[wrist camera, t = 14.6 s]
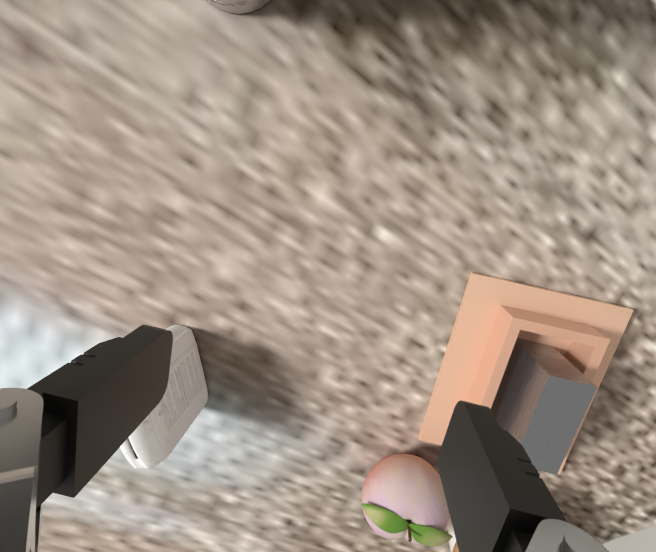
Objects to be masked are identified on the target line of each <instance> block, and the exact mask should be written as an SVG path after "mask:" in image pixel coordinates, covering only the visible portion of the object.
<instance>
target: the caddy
mask: <svg viewBox="0 0 656 552" xmlns="http://www.w3.org/2000/svg"><path fill="white" fill-rule="evenodd" d="M633 311H634V310H633V309H631V308H629V307H625V306H620V305H616V304H612V303H607V302H603V301H598V300H594V299H589V298H585V297H581V296H576V295H572V294H567V293H563V292H558V291H554V290H550V289H545V288H541V287H536V286H532V285H527V284H523V283H519V282H514V281H510V280H505V279H501V278H497V277H492V276H488V275H483V274H479V273H474V272H471V274H470V277H469V280H468V283H467V287H466V290H465V293H464V296H463V299H462V302H461V305H460V308H459V311H458V314H457V318H456V321H455V324H454V327H453V330H452V333H451V336H450V339H449V342H448V346H447V349H446V352H445V355H444V358H443V361H442V364H441V367H440V370H439V374H438V377H437V380H436V383H435V386H434V389H433V392H432V395H431V398H430V402H429V405H428V408H427V411H426V414H425V417H424V420H423V423H422V426H421V430H420V433H419V440H420V441H424V442H428V443H432V444H436V445H440V446H442V443H443V440H444V437H445V434H446V431H447V428H448V425H449V422H450V419H451V416H452V414H453V411H454V408H455V406H456V404H457V402H458V401H460V400H462V401H466V402H470V403H474V404H478V405H483V406H487V407H489V408H490V409H491V407H492V404H493V401H494V399H495V396H496V393H497V391H498V388H499V385H500V383H501V380H502V377H503V374H504V372H505V369H506V366H507V364H508V361H509V358H510V356H511V353H512V350H513V348H514V345H515V342H516V339H517V338H521V339H525V340H529V341H533V342H537V343H541V344H546V345H550V346H553V347H554V348H555V349H556V350H557V351H558V352H559V353H560V354H562V355H563V356H564V357H565V358H566V359H567V360H568V361H569V362H570V363H571V364H573V365H574V366H575V367H576V368H577V369H578V370H579V371H580V372H581V373H582V374H584V375H585V376H586V377H587V378H588V379H589V380H590V381H591V382H592V383H593V384H595V385H596V386H597V389H596V391H595V393H594V395H593V397H592V400H591V402H590V404H589V406H588V408H587V410H586V413H585V415H584V417H583V419H582V421H581V423H580V426H579V428H578V430H577V432H576V434H575V437H574V439H573V441H572V443H571V445H570V447H569V450H568V452H567V454H566V456H565V458H564V460H563V463H562V465H561V467H560V469H559V471H558V473H557V474H560V473H561V471H562V469H563V466H564V464H565V462H566V460H567V457H568V455H569V453H570V451H571V449H572V446H573V444H574V442H575V440H576V437H577V435H578V433H579V431H580V429H581V426H582V424H583V422H584V420H585V417H586V415H587V413H588V411H589V409H590V406H591V404H592V402H593V400H594V397H595V395H596V393H597V391H598V389H599V386H600V384H601V382H602V380H603V377H604V375H605V373H606V371H607V369H608V366H609V364H610V362H611V360H612V357H613V355H614V353H615V351H616V349H617V346H618V344H619V342H620V340H621V337H622V335H623V333H624V331H625V329H626V326H627V324H628V322H629V320H630V317H631V315H632V313H633Z"/></svg>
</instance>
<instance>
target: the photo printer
mask: <svg viewBox="0 0 656 552" xmlns="http://www.w3.org/2000/svg"><path fill="white" fill-rule="evenodd" d="M166 330H169V331H171V332H172V334H173V344H172V353H171V362H170V371H169V379H168V385H167V388H166V391H165V394H164V396H163V398H162V399H161V401H160V403H159V404H158V405H157V406H156V407H155V408H154V409H153V411H152V412H151V413H150V414H149V415H148V416H147V417H146V418H145V419H144V421H143V422H142V423H141V424H140V425H139V426H138V427H137V428H136V429H135V431H134V432H133V433H132V434H131V435H130V436H129V437H128V438H127V439H126V441H125V442H124V443H123V444H122V445H121V446H120V449H121V450H122V452H123V454H124V455H125V457H126V458H127V460H128V461H129V462H130V463H131V464H132V465H133V466H134V467H135V468H136V469H138V468H143V467H144V468H150V467H153V466H155V465H157V464H159V463H160V462H161V461H163V460H164V459H165V458H167V457H168V456H169V455H170V453H171V452H172V451H173V449H174V448H175V446H176V445H177V444H178V442H179V441H180V439H181V438H182V437H183V435H184V434H185V432H186V431H187V430H188V428H189V427H190V425H191V424H192V423H193V421H194V420H195V418H196V417H197V416H198V414H199V413H200V411H201V410H202V409H203V407H204V406H205V405H206V403H207V401H208V391H207V386H206V381H205V377H204V372H203V368H202V364H201V360H200V356H199V352H198V347H197V344H196V341H195V337H194V335H193V332H192V330H191V329H190V328H187V327H186V326H183V325H173V326H170V327H168V328H167V329H166Z"/></svg>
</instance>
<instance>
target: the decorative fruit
mask: <svg viewBox="0 0 656 552" xmlns="http://www.w3.org/2000/svg"><path fill="white" fill-rule="evenodd" d="M362 507H363V512H364V515H365V518H366V520H367V522H368V523H369V525H370V526H371V527H372V528H373V530H374V531H376V532H377V533H378V534H380V535H381V536H383V537H385V538H388V539H399V538H403V537H405V538H406V539H407V540H409V542H412V543H414V544H419V545H427V546H437V545H441V544H444V543H446V542H448V541H449V540H451V538H452V537H453V536H452V535H450V534H448V533H446V532H444V530H445V528H446V526H447V522H448V518H449V510H448V506H447V502H446V498H445V494H444V490H443V486H442V482H441V478H440V475H439V473H438V472H437V471H436V470H435V469H434V468H433V467H432V466H431V465H430V464H429V463H428V462H427V461H425V460H424V459H422V458H420V457H417V456H414V455H410V454H394V455H390V456H387V457H385V458H383V459H382V460H380V461H379V462H378V463H377V464H376V465H375V466H374V467H373V468H372V469H371V471H370V472H369V474H368V475H367V477H366V480H365V482H364V485H363V488H362Z"/></svg>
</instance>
